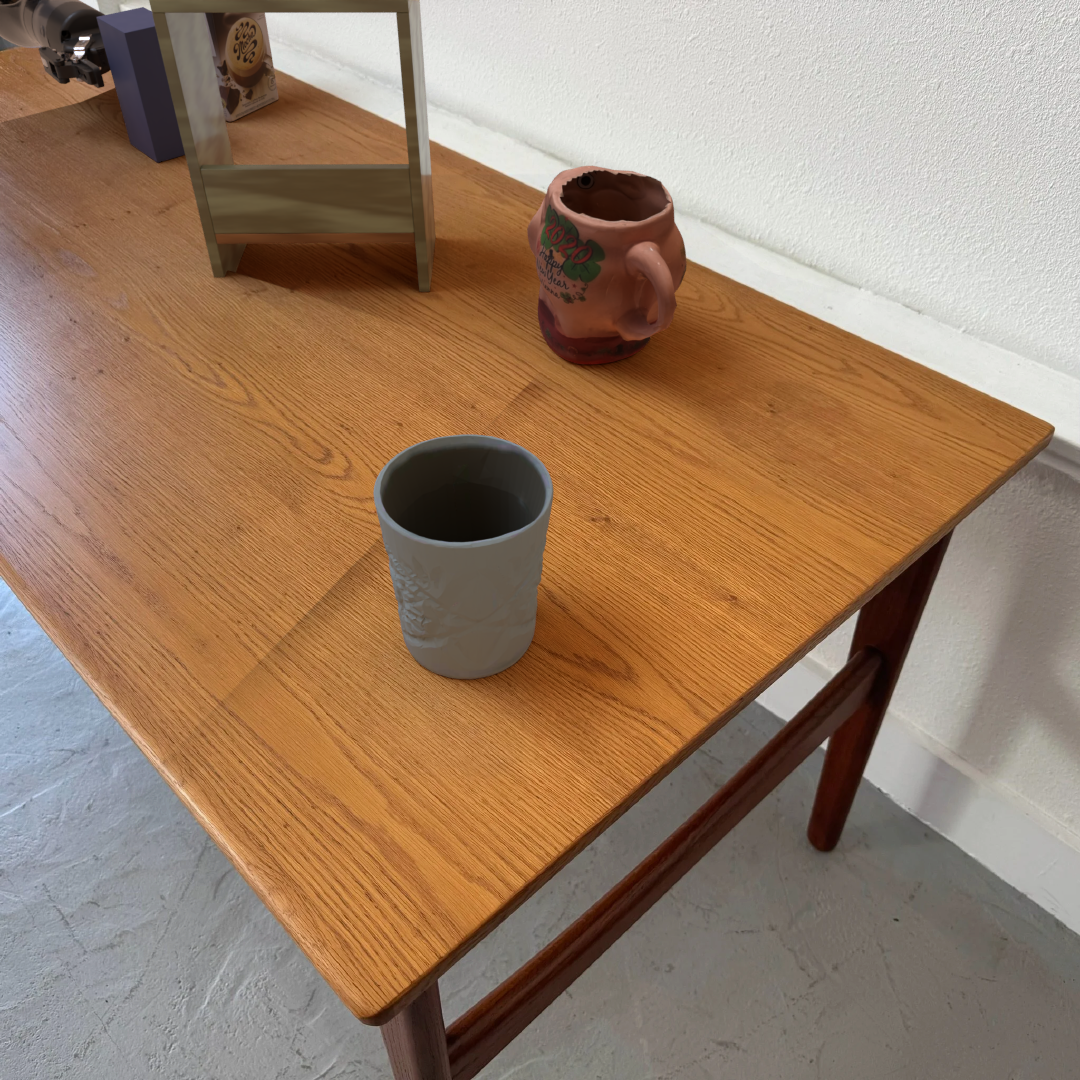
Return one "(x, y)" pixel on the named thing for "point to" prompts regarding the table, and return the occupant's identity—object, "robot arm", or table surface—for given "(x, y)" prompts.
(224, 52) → the coffee box
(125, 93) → the carton
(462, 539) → the grey cup
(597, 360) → the pink ceramic mug
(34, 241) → the table surface
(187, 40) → the shelf unit
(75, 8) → the robot arm
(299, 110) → the table surface
